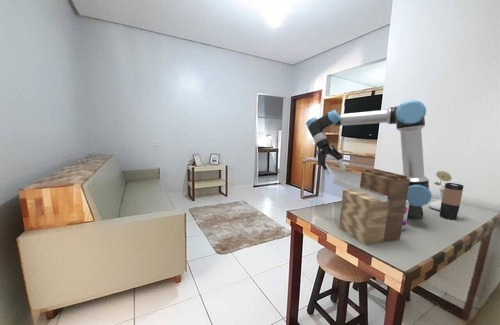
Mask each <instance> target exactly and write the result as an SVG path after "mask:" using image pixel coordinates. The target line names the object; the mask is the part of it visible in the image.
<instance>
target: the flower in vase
mask: <svg viewBox="0 0 500 325" xmlns="http://www.w3.org/2000/svg"><path fill="white" fill-rule="evenodd" d="M435 175H436V177H437V178H438V179H439V180H440V182H439V181H436V182H434V183H433V184H434V185H436V186H441V187H438V189H439V192H440V193H439V194H440V197H439V199H438V200H435V201H433V202H429V203H428V206H429V208H431V209H434V210H436V211H440V208H441V202H442V197H443V192H444V187H445V185H442V182H451V180H452V178H453V177H452V176H451V175H452V174H450V173H449V172H447V171H444V170H440V171H439V170H438V171H436V173H435Z"/></svg>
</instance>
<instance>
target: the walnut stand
mask: <svg viewBox="0 0 500 325" xmlns="http://www.w3.org/2000/svg"><path fill="white" fill-rule="evenodd" d="M409 181H410V179H407V176H405V175H403V174H399V173H396V172H391V171H386V170H382V169H378V168H373V169H369V168H365V170H364V171H362V172H361V175H360V184H359V186H361V187H364V188H367V189H369V190H372V191H375V192H378V193H381V194H384V195H386V196H388V198H387V202H379V201H377V200H374V199H372V198H369V197H367V196H364V195H362V194H359V193H357V192H354V191H352V190H349V189H343V190H342V196H341V197H342V198H341V206H340V215H339V223H338V228H339V229H340V230H342V231H344V232H345V233H347V235H349V236H351V237H353V238H354V239H355V240H357V241H358V242H360V243H362V244H363V245H365V246H367V245H372V244H378V243H379V244H380V243H384V242H390V241H396V240H397V241H398V240H400V239H401V235H402V231H401V230H402V224H403V218H404V212H405V206H406V200H407V193H408V187H409Z"/></svg>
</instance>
